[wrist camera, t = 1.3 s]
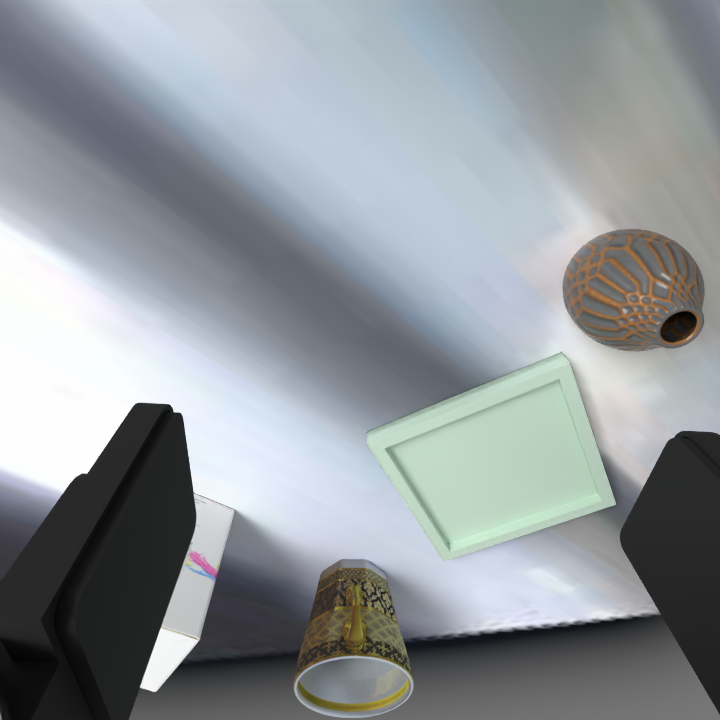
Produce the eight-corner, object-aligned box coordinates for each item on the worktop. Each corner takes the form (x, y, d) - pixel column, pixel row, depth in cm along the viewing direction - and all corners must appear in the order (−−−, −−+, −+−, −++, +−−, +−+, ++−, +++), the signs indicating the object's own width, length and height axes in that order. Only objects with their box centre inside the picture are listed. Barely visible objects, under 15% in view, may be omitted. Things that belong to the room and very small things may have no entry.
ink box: (199, 561, 46) (148, 722, 34) (114, 531, 43) (28, 693, 32) (237, 508, 42) (194, 668, 31) (146, 472, 40) (62, 630, 28)
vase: (628, 321, 33) (710, 390, 26) (535, 311, 33) (590, 378, 25) (672, 224, 30) (781, 271, 22) (568, 211, 29) (644, 254, 22)
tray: (561, 352, 35) (569, 362, 33) (608, 491, 42) (616, 504, 40) (366, 432, 38) (367, 444, 37) (440, 548, 45) (443, 561, 44)
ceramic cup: (398, 609, 50) (408, 718, 41) (304, 609, 50) (294, 719, 41) (408, 525, 44) (423, 634, 35) (300, 525, 43) (288, 634, 35)
